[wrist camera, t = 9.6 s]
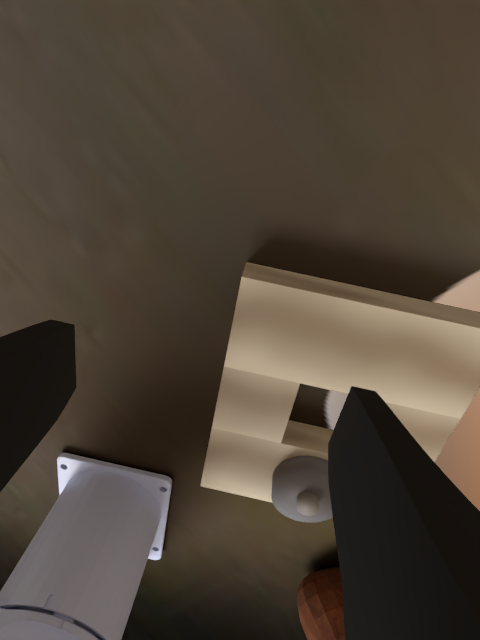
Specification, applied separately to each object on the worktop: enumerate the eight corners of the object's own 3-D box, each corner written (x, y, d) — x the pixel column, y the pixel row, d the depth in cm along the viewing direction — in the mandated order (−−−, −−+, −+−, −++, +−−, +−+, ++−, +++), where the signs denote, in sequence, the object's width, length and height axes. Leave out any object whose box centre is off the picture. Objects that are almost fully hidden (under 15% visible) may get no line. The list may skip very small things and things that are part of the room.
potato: (293, 539, 28) (294, 678, 21) (463, 545, 26) (526, 700, 19) (298, 598, 31) (301, 735, 24) (449, 607, 30) (498, 758, 23)
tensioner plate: (385, 501, 25) (400, 559, 22) (206, 460, 25) (193, 512, 22) (490, 314, 18) (535, 357, 15) (246, 262, 19) (236, 293, 15)
